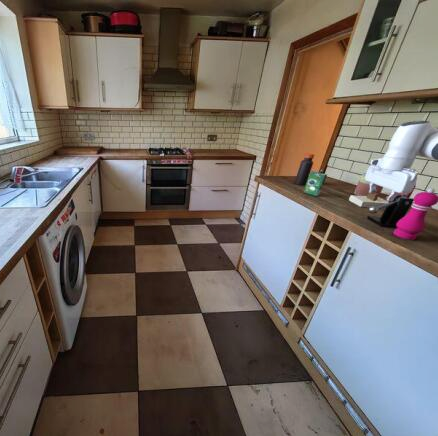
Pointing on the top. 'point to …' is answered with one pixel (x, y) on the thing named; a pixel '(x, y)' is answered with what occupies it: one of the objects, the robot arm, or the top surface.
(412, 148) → the robot arm
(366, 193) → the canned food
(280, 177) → the top surface
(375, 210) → the metal spoon
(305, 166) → the bottle
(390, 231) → the top surface
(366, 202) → the plate
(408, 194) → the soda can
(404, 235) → the pepper mill
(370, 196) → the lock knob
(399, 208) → the latch bracket
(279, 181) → the top surface
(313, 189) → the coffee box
